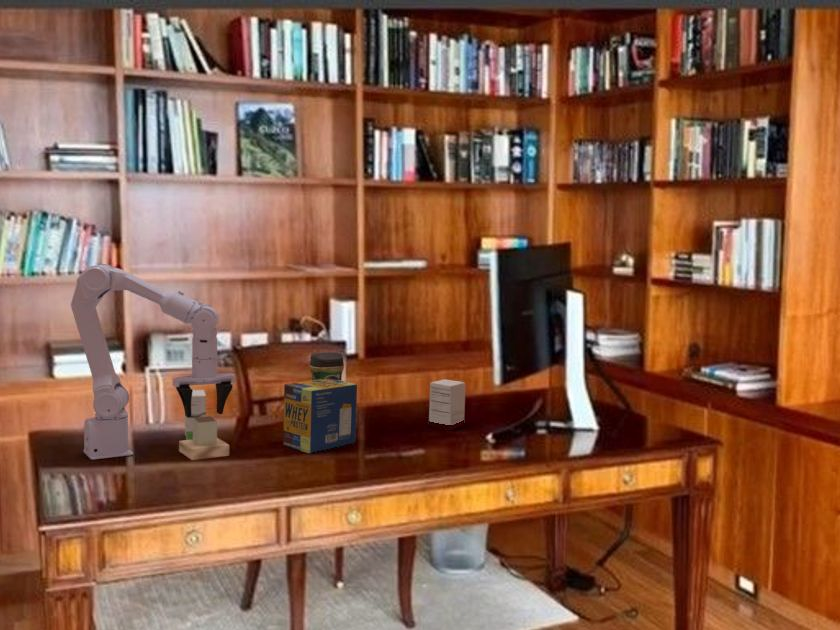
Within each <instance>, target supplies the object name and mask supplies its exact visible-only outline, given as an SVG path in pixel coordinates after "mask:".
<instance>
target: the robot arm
mask: <svg viewBox="0 0 840 630" xmlns="http://www.w3.org/2000/svg"><path fill="white" fill-rule="evenodd" d="M110 291H112V292H113V291H114V292H115V291H128V292H130V293H133V294H135V295H137V296H140V297H142V298H144V299H147V301H150V302H152V303H155V304H157V305H159V307H160V309H161V312H162V313H164V314H166V315H167V316H170V317H171V318H174V319H176V320H178V321H179V322H182V323H184V324H185V325H187V324H190V325H191V327H192V329H193V331H192V332H193V333H192V334H193V335H192V340H191V341H192V343H191V345H192V346H191V375H185V376H184V375H183V376H176V377H172V386H173V387H174V388H175V389H176V391H177V393H178V395H179V398H180V400H181V402H182V407H183V409H184V410H183V411H184V417H185V416H187V417H191V399H192V392H193V390H194V389H192V388H191V386H200V385H215V392H216V413H217V414H219V415H223V413H224V408H225V405H226V402H227V399H228V398H229V395H230V393H231V392H232V389H233V384H235V383H236V374H235V373H218V337H217V336H218V331H217V328H218V327H217V325H218V323H219V313H218V312H217V310H216V309H215V308H214V307H212V306H211V305H210V304H204V301H202V300H198V301H197V300H195V299H193V298H191V297H189V296H187V295H185V292H184V291H182V290H180V289H179V290H178V291H176V290H175V289H174V290H173V289H172V290H170V291H167V292H166V291H164V290H162V289H160V288H159V287H157V286H154V285H153V284H151V283H149V282H147V281H145V280H144V279H142V278H140V277H138V276H137V275H134V274H132V273H130V272H128V271H126V270H124V269H121V268H118V267H113V266H112V265H110V264H107V263H100V264H97V265H94V264H93V265H91V266H88V267H86V268H85V269H84V270H82V273H80V274H79V276H78V277H77V278H76V286H75V288H74V291H73V292H74V293H73V296H72V299H71V303H70V307H71V311H72V314H73V317H74V321H75V324H76V327H77V331H78V334H79V337H80V338H79V339H80V341H81V345H82V348H83V350H84V354H85V357H86V360H87V364H88V367H89V370H90V373H91V377H92V393H93V402H92V405H93V406H92V409H93V411H94V412H95V414H94V416H93V417H90V418H89V417H88V418H85V420H84V425H83V447H84V448H83V453H84V454H85V455H86V456H87V457H88V458H89V459H90V460H100V459H101V460H102V459H109V458H119V457H127V456H133V455H134V452H133V451H132V450H130V448H129V413H128V412H127V410H126V406H127V405H128V403H129V401H130V394H129V392H128V390H127V388H126V387H124V386H123V384H122V382H121V378H120V377H119V375H118V374H117V372H116V370H115V367H114V364H113V360H112V357H111V355H110V351H109V347H108V343H107V340H106V337H105V334H104V329H103V328H102V324H101V321H100V318H99V314H98V310H97V307H98V305H99V303H100V302H101V300H102V299H103V297H104V296H105V295H106V294H107V293H109V292H110ZM203 304H204V305H203Z"/></svg>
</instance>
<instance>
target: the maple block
mask: <svg viewBox="0 0 840 630" xmlns="http://www.w3.org/2000/svg"><path fill="white" fill-rule="evenodd" d="M178 452H180V453H181V454H183V455H184V456H186V457H187V458H188V459H190V460H191V461H196V460H203V459H210V458H219V457H227V456H230V444H228V443H227V442H225V441H224V440H222V439H221V438H218V437H217V444H213V445H204V446H198V445H196V444H195V443H194V442H193V439H191V440H186V439H184V440H179V441H178Z"/></svg>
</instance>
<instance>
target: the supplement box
mask: <svg viewBox="0 0 840 630" xmlns="http://www.w3.org/2000/svg"><path fill="white" fill-rule="evenodd" d="M465 404H466V382H464V381H458V380H451V379H446V378H444V379H443V378H442V379H440V380H436V381H432V382H429V409H428V410H429V411H428V412H429V413H428V422H429V421H430V422H434V423H439V424H445V425H454V424H456V423H459V422H461V421H463V420H464V421H465V413H466V412H465V411H466V410H465V409H466V408H465Z"/></svg>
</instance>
